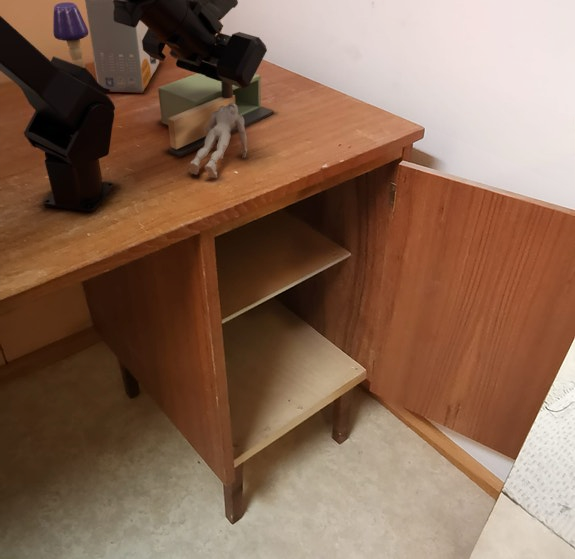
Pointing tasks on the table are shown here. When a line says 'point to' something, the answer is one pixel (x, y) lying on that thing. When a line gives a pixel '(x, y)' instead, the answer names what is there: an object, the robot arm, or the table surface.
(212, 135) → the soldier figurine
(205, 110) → the door
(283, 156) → the table surface
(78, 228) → the table surface
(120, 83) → the hard drive box
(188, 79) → the cabinet
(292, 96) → the table surface
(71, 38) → the toy lamp
